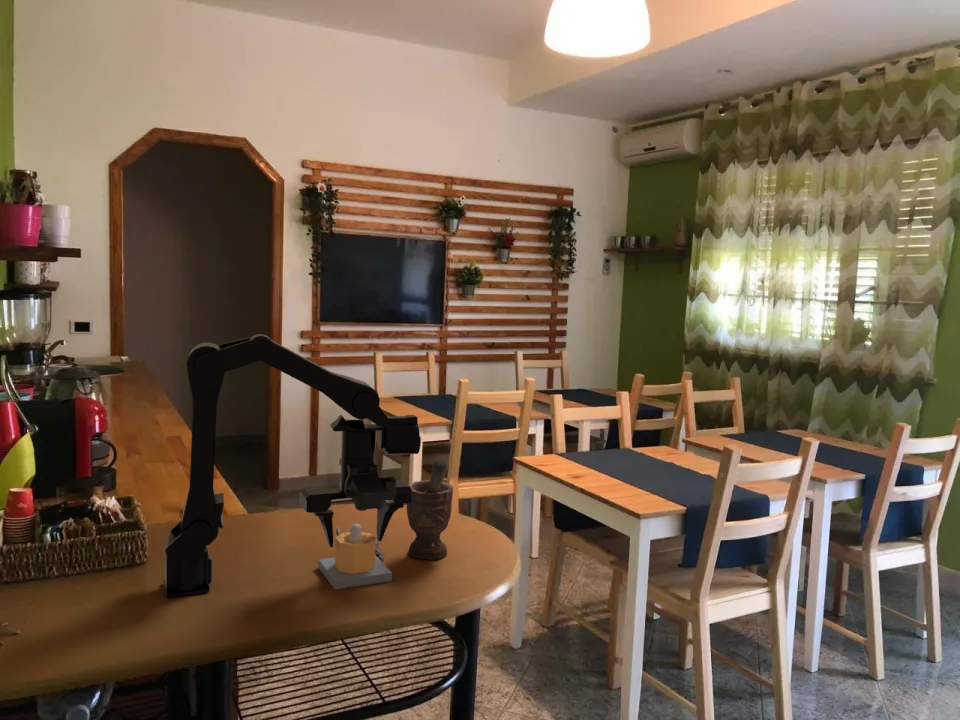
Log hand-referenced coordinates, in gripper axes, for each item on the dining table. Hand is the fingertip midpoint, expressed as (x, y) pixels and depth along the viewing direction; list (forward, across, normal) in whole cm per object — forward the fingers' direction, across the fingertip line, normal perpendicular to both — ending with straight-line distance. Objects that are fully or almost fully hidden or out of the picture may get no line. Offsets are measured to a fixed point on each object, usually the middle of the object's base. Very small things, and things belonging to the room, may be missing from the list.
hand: (355, 543), depth 130 cm
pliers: (+6, +8, +14) cm, 17 cm away
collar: (+4, 0, 0) cm, 4 cm away
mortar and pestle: (+6, +16, +3) cm, 17 cm away
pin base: (+6, 0, 0) cm, 6 cm away
